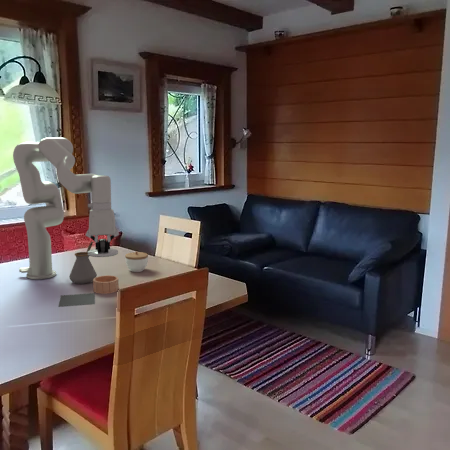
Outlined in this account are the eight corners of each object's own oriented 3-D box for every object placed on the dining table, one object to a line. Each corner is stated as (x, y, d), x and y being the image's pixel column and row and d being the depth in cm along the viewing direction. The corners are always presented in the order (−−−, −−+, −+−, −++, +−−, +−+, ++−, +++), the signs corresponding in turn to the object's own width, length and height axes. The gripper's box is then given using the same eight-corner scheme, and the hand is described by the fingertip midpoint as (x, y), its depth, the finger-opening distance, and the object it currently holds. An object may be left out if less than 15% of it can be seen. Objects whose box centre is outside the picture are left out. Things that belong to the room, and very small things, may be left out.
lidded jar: (150, 267, 223) (150, 249, 222) (144, 273, 213) (144, 254, 211) (129, 266, 224) (129, 248, 223) (122, 272, 214) (122, 253, 212)
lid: (87, 257, 177) (86, 243, 176) (88, 250, 188) (87, 237, 187) (118, 256, 180) (118, 242, 179) (117, 249, 191) (117, 236, 190)
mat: (58, 307, 168) (58, 306, 168) (60, 296, 180) (60, 295, 180) (94, 304, 171) (94, 303, 171) (94, 293, 183) (94, 293, 183)
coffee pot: (92, 286, 193) (91, 252, 191) (65, 285, 193) (64, 251, 191) (105, 272, 214) (104, 241, 212) (81, 271, 214) (80, 240, 212)
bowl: (93, 295, 182) (93, 283, 181) (93, 287, 191) (93, 276, 190) (119, 293, 185) (118, 281, 184) (117, 286, 194) (117, 274, 193)
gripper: (79, 208, 175) (81, 254, 178) (122, 207, 179) (123, 252, 183) (80, 205, 182) (82, 250, 186) (122, 204, 186) (123, 248, 190)
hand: (102, 250), depth 184 cm, fingers closed on lid, 3 cm apart
